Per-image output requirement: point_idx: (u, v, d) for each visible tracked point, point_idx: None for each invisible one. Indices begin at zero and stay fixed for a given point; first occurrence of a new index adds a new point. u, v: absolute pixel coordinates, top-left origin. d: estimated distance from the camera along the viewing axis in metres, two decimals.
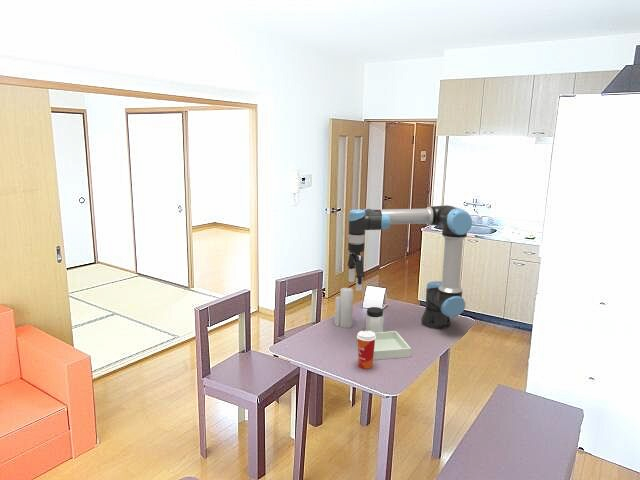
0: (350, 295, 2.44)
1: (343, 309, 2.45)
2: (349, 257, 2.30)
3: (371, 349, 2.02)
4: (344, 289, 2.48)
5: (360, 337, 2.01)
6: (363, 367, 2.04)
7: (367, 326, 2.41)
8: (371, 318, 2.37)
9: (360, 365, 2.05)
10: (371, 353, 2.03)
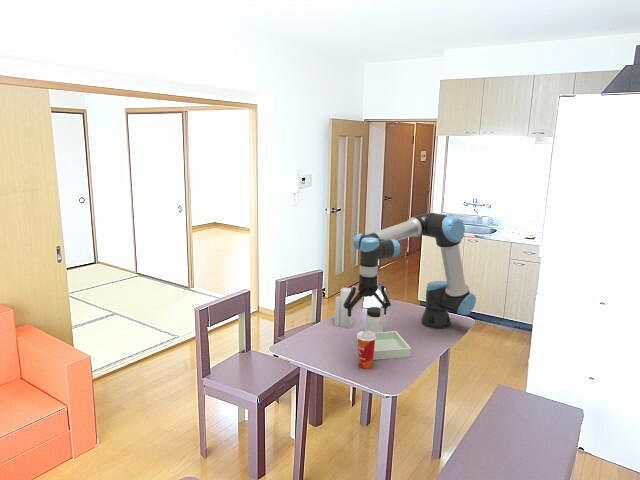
0: None
1: (343, 309, 2.45)
2: None
3: (371, 349, 2.02)
4: (344, 289, 2.48)
5: (360, 337, 2.01)
6: (363, 367, 2.04)
7: (367, 326, 2.41)
8: (371, 318, 2.37)
9: (360, 365, 2.05)
10: (371, 353, 2.03)
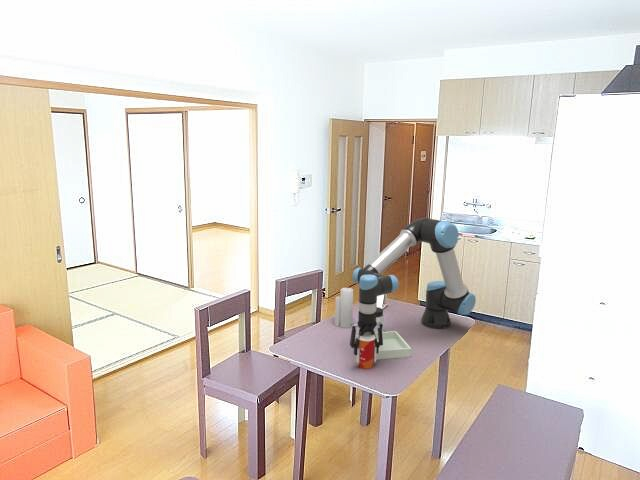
0: (350, 295, 2.44)
1: (343, 309, 2.45)
2: None
3: (371, 349, 2.02)
4: (344, 289, 2.48)
5: (360, 337, 2.01)
6: (363, 367, 2.04)
7: None
8: None
9: (360, 365, 2.05)
10: (371, 353, 2.03)
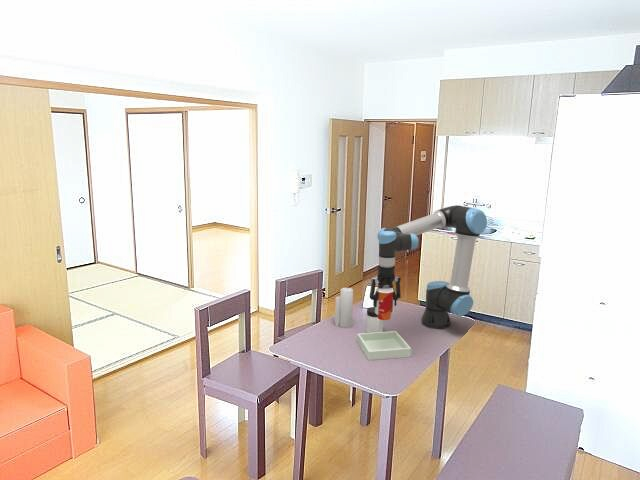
0: (350, 295, 2.44)
1: (343, 309, 2.45)
2: None
3: (389, 301, 2.15)
4: (344, 289, 2.48)
5: (379, 290, 2.15)
6: (382, 318, 2.17)
7: (367, 326, 2.41)
8: (371, 318, 2.37)
9: (379, 316, 2.18)
10: (389, 305, 2.16)
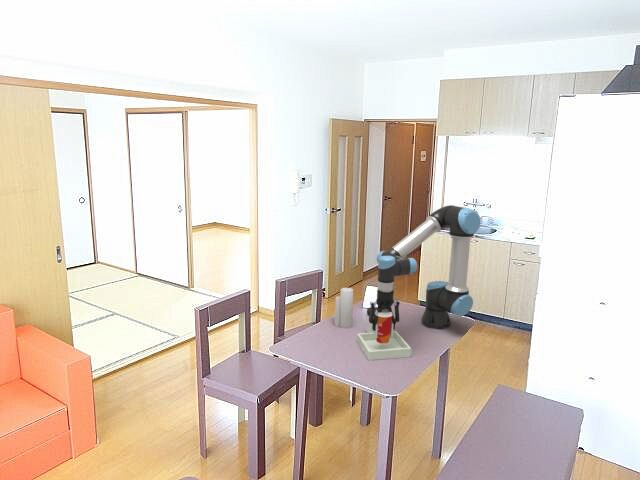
0: (350, 295, 2.44)
1: (343, 309, 2.45)
2: None
3: (388, 325, 2.18)
4: (344, 289, 2.48)
5: (378, 314, 2.17)
6: (381, 342, 2.20)
7: (367, 326, 2.41)
8: None
9: (378, 340, 2.21)
10: (388, 328, 2.18)
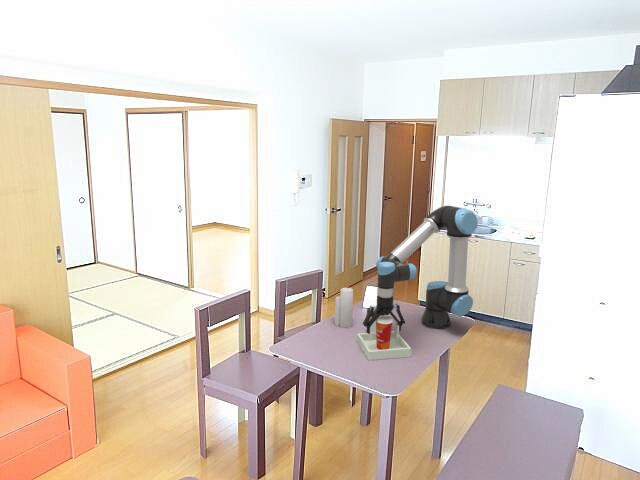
0: (350, 295, 2.44)
1: (343, 309, 2.45)
2: None
3: (388, 331, 2.19)
4: (344, 289, 2.48)
5: (378, 320, 2.18)
6: (381, 348, 2.21)
7: None
8: None
9: (378, 346, 2.21)
10: (388, 335, 2.19)
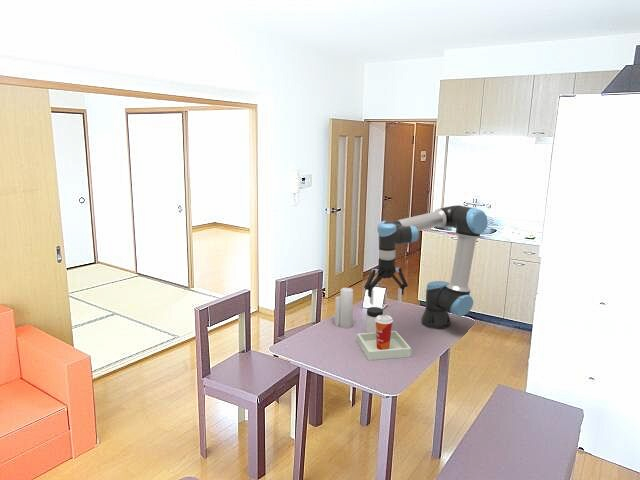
0: (350, 295, 2.44)
1: (343, 309, 2.45)
2: None
3: (388, 331, 2.19)
4: (344, 289, 2.48)
5: (378, 320, 2.18)
6: (381, 348, 2.21)
7: (367, 326, 2.41)
8: (371, 318, 2.37)
9: (378, 346, 2.21)
10: (388, 335, 2.19)
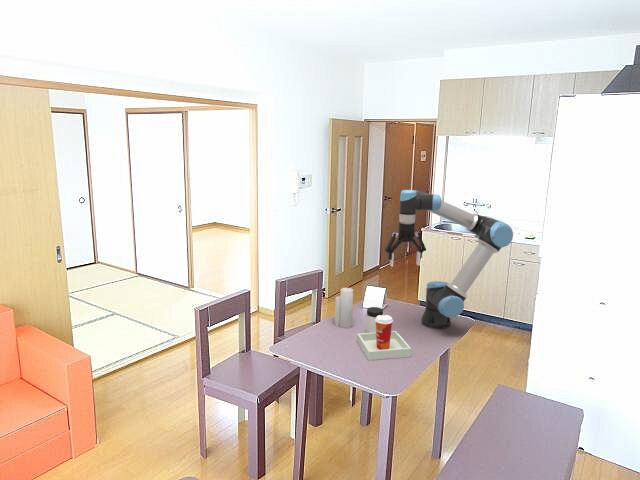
0: (350, 295, 2.44)
1: (343, 309, 2.45)
2: None
3: (388, 331, 2.19)
4: (344, 289, 2.48)
5: (378, 320, 2.18)
6: (381, 348, 2.21)
7: (367, 326, 2.41)
8: (371, 318, 2.37)
9: (378, 346, 2.21)
10: (388, 335, 2.19)
